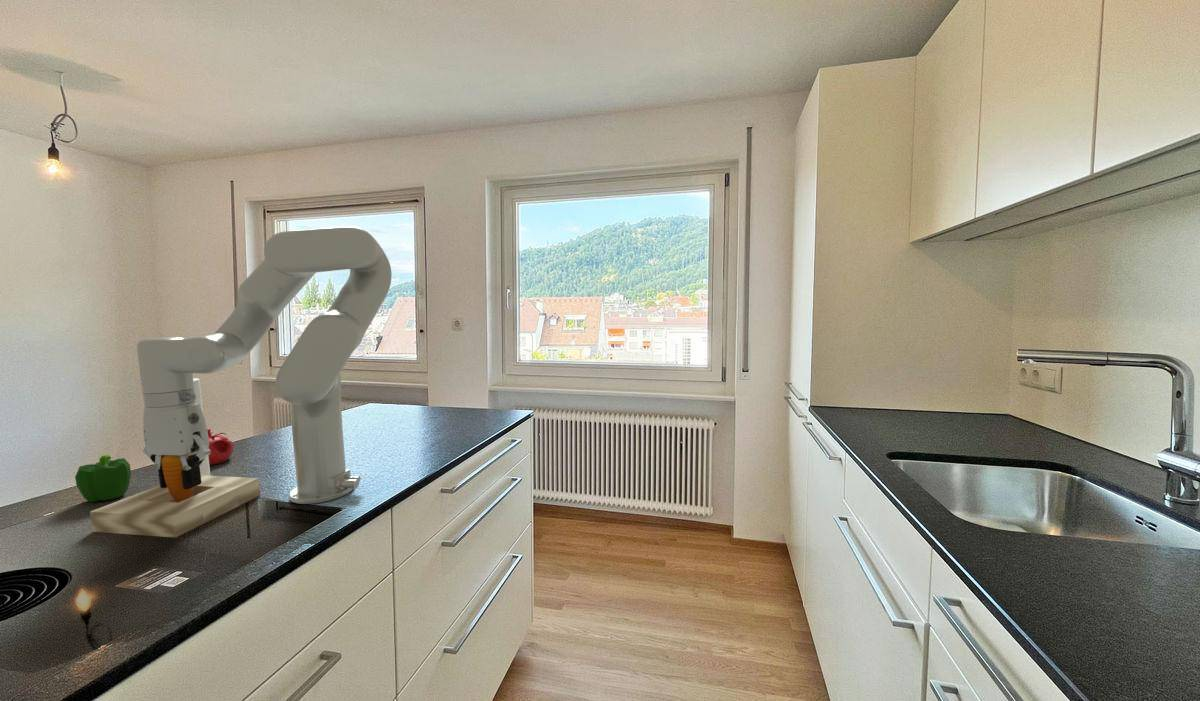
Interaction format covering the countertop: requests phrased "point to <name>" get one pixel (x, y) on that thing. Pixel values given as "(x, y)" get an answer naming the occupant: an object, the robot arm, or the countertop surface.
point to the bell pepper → (104, 479)
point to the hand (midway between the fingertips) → (181, 485)
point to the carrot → (175, 477)
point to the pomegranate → (219, 448)
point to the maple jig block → (174, 508)
